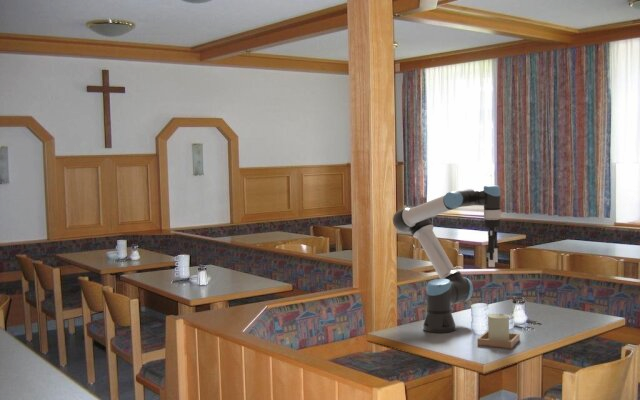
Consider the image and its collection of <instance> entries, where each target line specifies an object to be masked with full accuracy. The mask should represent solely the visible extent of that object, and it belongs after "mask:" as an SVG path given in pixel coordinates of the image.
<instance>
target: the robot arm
mask: <svg viewBox="0 0 640 400" xmlns="http://www.w3.org/2000/svg"><path fill="white" fill-rule="evenodd" d="M501 195H502V193H501V187H500V186H499V185H494V184H493V185H492V184H491V185H489V184H488V185H487V184H486V185H484V186H483V189H472V188H470V189H469V188H468V189H467V188H465V189H464V190H452V191H449V192H446V193H445V194H444V195H442V196H440V197H437V198H433V199H432V200H429V201H427V202H423V203H421V204H419V205H416V206H414V207H411V208H410V207H405V208H401V209H399V210H398V211H396V212H395V213H394V214H393V217H392V224H393V227H394V228H395V229H396V230H397V231H399V232H401V233H402V232H403V233H407V232H408V233H409V232H410V233H411V235H412V237H413V238H415V239H417V240H418V241H419V244H420V245H421V247H422V248H423V249H422V250H423V251H424V253H425V254H426V256H427V258H428V259H429V262H431V265H432V267H433V268H434V270H435V272H436V274H437V275H438V277H439V278H435V279H432V280H429V281H428V282H427V283H426V289H425V296H426V297H425V298H426V315H425V318H424V321H423V330H424V331H425V332H429V333H435V334H436V333H437V334H446V333H452V332H454V331H456V329H457V328H456V323H455V320H454V317H453V314H452V306H453V305H456V304H460V303H461V304H462V303H465V302H466V301H469V300H470V299H471V298H472V296H473V294H474V285H473V283H472V281H471V280H470V279H469V278H468V277H465V276H463V274H462V273H461V272H460V271H459V270H456V269H455V267H454V265H453V264H452V262H451V260H450V259H449V257H448V255H447V253H446V251H445V250H444V247H443V246H442V244H441V242H440V241H439V239H438V237H437V236H436V234H435V232H434V221H433V220H434V217H436V216H439V215H441V214H444V213H446V212H449V211H451V210H454V209H455V210H456V209H459V208H464V207H473V206H483V218H484V220H483V223H484V224H483V226H484V228H487V229H489V230H488V231H487V241H488V242H487V243H488V244H487V250H486V253H487V255H488V258H487V259H488V268H495V267H496V265H495V264H496V263H498V262H499V261H498V257H499V256H498V254H499V253H498V249H500V246H499V244H498V229H499V228H501V226H502V220H501V216H502V214H503V212H502V209H501V197H502V196H501Z"/></svg>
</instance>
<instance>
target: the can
mask: <svg viewBox="0 0 640 400" xmlns="http://www.w3.org/2000/svg"><path fill="white" fill-rule="evenodd" d="M487 331H488V339H489V340H499V341H508V342H510V341H509V333H510V315H508V314H506V313H489V314H488V315H487Z"/></svg>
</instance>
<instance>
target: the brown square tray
mask: <svg viewBox="0 0 640 400" xmlns="http://www.w3.org/2000/svg"><path fill="white" fill-rule="evenodd" d="M520 335H521V334H520V333H513V332H509V341H510V342H508V341H499V340H489V339H488V330H487V331H485V332H484V333H483V334H481V335H480V336H479V337H478V338H477V341H476V342H477V347H478V346H479V347H485V348H486V347H488V348H497V349H506V350H512V349H513V348H515V346H516V345H518V343H519V342H520V340H521V339H520Z"/></svg>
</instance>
